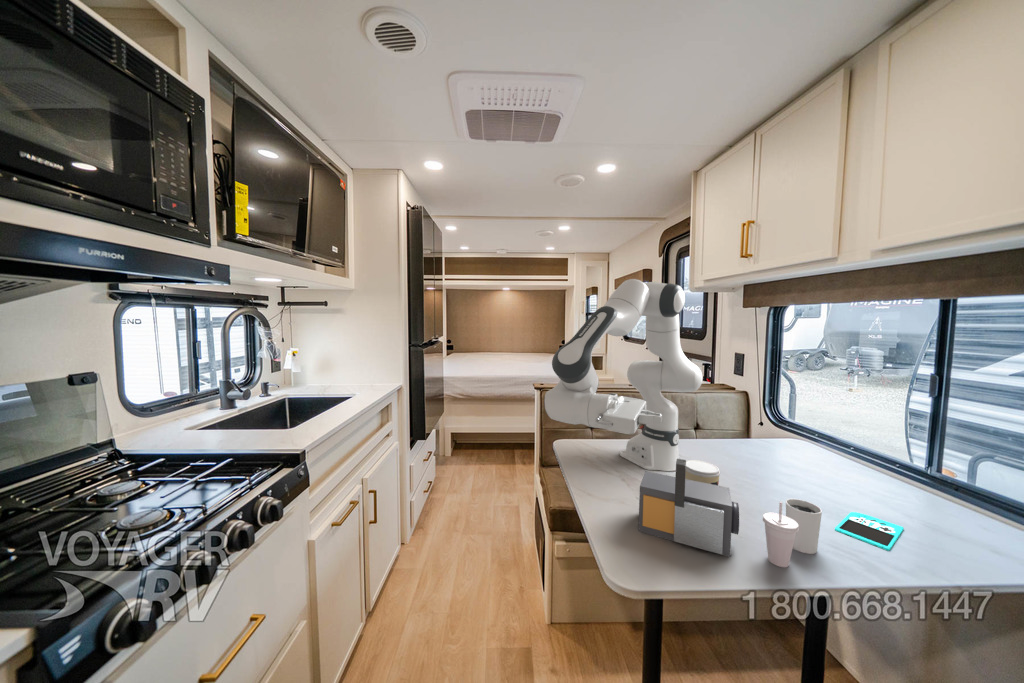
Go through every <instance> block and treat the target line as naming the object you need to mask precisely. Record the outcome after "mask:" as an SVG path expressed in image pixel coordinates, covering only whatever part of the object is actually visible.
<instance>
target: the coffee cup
mask: <svg viewBox="0 0 1024 683" xmlns="http://www.w3.org/2000/svg"><path fill="white" fill-rule="evenodd" d="M720 474H721V471H720V469H719V467H718V466H717V465H715V464H713V463H711V462H708V461H705V460H699V459H691V460H690V459H689V460H686V478H685V479H688V480H693V481H698V482H703V483H708V484H713V485H718V486H719V482H720V476H721V475H720Z"/></svg>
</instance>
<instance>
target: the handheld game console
mask: <svg viewBox="0 0 1024 683" xmlns="http://www.w3.org/2000/svg"><path fill="white" fill-rule="evenodd" d="M904 530H905V529H904V527H903V526H901V525H898V524H895V523H892V522H889V521H886V520H883V519H880V518H877V517H874V516H871V515H868V514H864V513H861V512H856V511H850V512H849V513H848V514H847V515H846V516H845V517H844V518H843V519H842V520H841V521H840V523H838V524H837V525H836V526H835V527H834V532H835V531H836V532H838V533H841V534H843V535H845V536H848V537H850V538H854V539H856V540H860V541H862V542H864V543H866V544H868V545H869V544H870V546H871V545H872V546H874V547H878V548H879V549H882V550H885V551H887V552H889V551H891V549H892V548H893V546H894V545H895V543H896V542H897V540H898V539H899V538H900V536H901V535H902V533H903V531H904Z"/></svg>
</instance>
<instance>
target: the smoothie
mask: <svg viewBox="0 0 1024 683" xmlns="http://www.w3.org/2000/svg"><path fill="white" fill-rule="evenodd" d="M778 504H779V505H778V506H779V507H778V513H777V512H766V513H763V515H762V522H763V523H764V530H765V540H766V541H765V542H766V549H767V551H766V552H767V559H768V561H769V562H770V563H772V564H773V565H775V566H777V567H780V568H788V567H789V566H790V562H791V557H792V552H793V550H794V549H793V544H794V540H795V536H796V532H798V530H799V528H798V527H799V525H798V523H797V522H796V521H794V520H793V519H791V518H789V517H787V516H786V514H783V506H784V505H783V501H779V503H778Z"/></svg>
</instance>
